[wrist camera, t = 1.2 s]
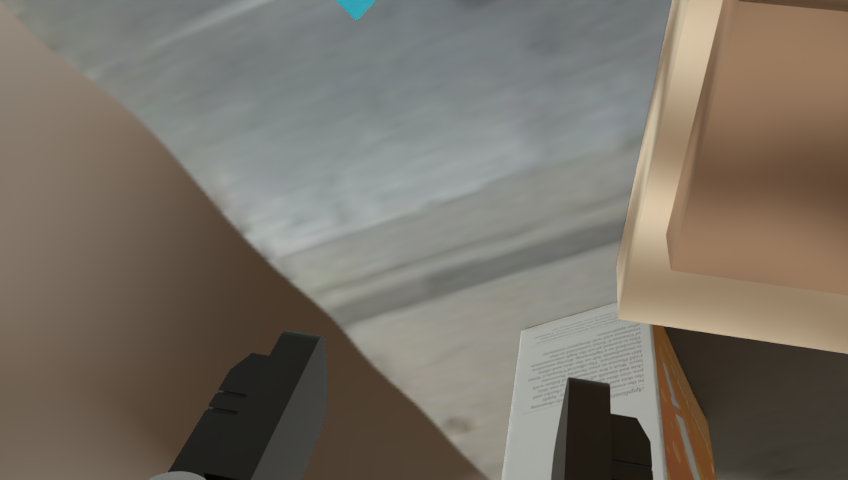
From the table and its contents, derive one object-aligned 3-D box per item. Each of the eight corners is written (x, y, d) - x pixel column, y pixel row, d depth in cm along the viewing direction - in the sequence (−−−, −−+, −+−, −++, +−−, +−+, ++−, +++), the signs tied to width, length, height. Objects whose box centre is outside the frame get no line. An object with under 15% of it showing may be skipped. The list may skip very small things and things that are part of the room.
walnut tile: (727, -19, 24) (739, 1, 22) (938, 1, 24) (970, 23, 22) (665, 234, 29) (670, 270, 27) (839, 258, 28) (857, 296, 26)
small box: (710, 420, 38) (755, 689, 27) (583, 449, 40) (577, 706, 29) (651, 286, 35) (675, 528, 24) (517, 326, 37) (483, 561, 26)
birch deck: (709, -177, 26) (726, -168, 22) (1118, -149, 24) (1202, -135, 21) (616, 264, 35) (618, 318, 31) (911, 306, 33) (946, 368, 30)
